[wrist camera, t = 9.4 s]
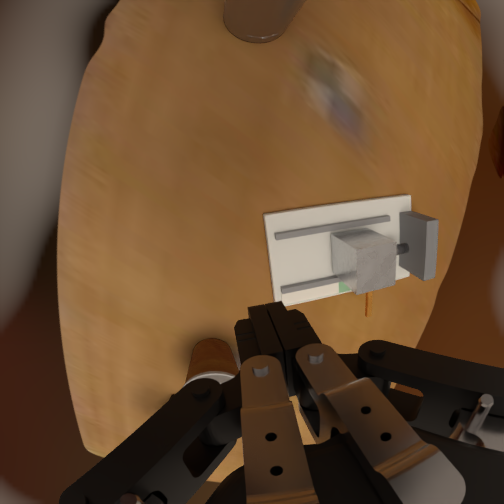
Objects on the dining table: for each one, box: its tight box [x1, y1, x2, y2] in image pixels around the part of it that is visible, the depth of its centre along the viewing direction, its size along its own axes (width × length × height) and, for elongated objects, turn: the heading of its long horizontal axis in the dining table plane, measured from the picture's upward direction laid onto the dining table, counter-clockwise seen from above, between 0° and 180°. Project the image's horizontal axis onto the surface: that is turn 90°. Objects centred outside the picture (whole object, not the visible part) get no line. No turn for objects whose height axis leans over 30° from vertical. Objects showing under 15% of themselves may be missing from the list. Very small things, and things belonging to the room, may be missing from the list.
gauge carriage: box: [331, 228, 409, 317], centre depth 40 cm, size 11×11×8 cm
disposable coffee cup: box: [183, 338, 239, 387], centre depth 41 cm, size 10×10×12 cm
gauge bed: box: [263, 194, 438, 306], centre depth 40 cm, size 14×24×8 cm, turn 98°
